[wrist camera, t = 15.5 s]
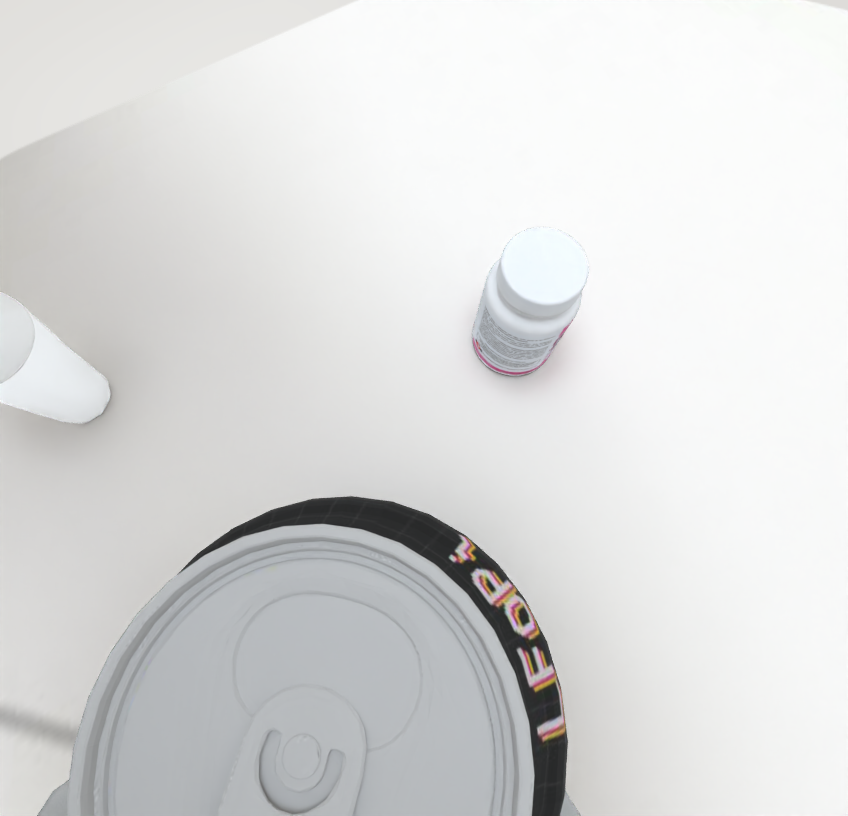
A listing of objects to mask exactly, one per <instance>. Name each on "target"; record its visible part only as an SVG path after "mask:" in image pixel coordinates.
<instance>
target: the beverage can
mask: <svg viewBox="0 0 848 816" xmlns="http://www.w3.org/2000/svg"><path fill="white" fill-rule="evenodd" d="M567 744H568V740H567V732H566V724H565V716H564V708H563V700H562V692H561V687H560V684H559V680H558V677H557V674H556V670H555V667H554V664H553V661H552V657H551V654H550V651H549V647H548V644H547V641H546V639H545V637H544V635H543V634H542V632H541V630H540V628H539V626H538V624H537V622H536V620H535V618H534V616H533V614H532V612H531V610H530V608H529V606H528V604H527V602H526V600H525V599H524V598H523V596H522V595H521V594H520V592H519V591H518V590H517V588H516V587H515V586H514V585H513V583H512V582H511V581H510V579H509V578H508V577H507V575H506V574H505V573H504V572H503V570H502V569H501V568H500V566H499V565H498V564H497V563H496V562H495V561H494V560H493V559H491V558H490V557H489V556H488V555H487V554H486V553H485V552H484V551H482V550H481V549H480V548H479V547H478V546H477V545H476V544H475V543H473V542H472V541H471V540H470V539H469V538H468V537H467V536H466V535H464V534H462V533H460V532H459V531H457V530H455V529H454V528H452V527H450V526H448V525H447V524H445V523H443V522H442V521H440V520H438V519H436V518H435V517H433V516H431V515H429V514H426V513H424V512H421V511H418V510H415V509H412V508H409V507H406V506H403V505H400V504H397V503H395V502H390V501H383V500H375V499H368V498H360V497H353V496H351V497H335V498H319V499H311V500H307V501H303V502H299V503H295V504H292V505H288V506H284V507H280V508H277V509H273V510H270V511H268V512H266V513H264V514H262V515H260V516H258V517H256V518H254V519H252V520H250V521H248V522H245V523H243V524H241V525H239V526H237V527H235V528H233V529H231V530H230V531H229V532H227V533H226V534H224V535H223V536H222V537H220V538H219V539H218V540H216V541H215V542H213V543H212V544H211V545H209V546H208V547H206V548H205V549H204V550H202V551H201V552H200V553H198V554H197V555H196V556H195V557H194V558H193V559H192V560H191V561H190V562H189V563H188V564H187V565H186V566H185V567H184V568H183V569H182V570H181V571H180V572H179V573H178V574H177V576H175V577H174V578H172V579H171V580H170V581H169V582H168V583H167V584H166V585H165V586H164V587H163V588H162V589H161V590H160V591H159V592H158V593H157V594H156V595H155V596H154V597H153V598H152V599H151V600H150V601H149V602H148V603H147V604H146V605H145V606H144V607H143V608H142V609H141V610H140V611H139V612H138V613H137V615H136V616H135V618H134V619H133V620H132V622H131V623H130V625H129V626H128V628H127V629H126V631H125V632H124V633H123V635H122V636H121V638H120V639H119V641H118V642H117V644H116V645H115V646H114V648H113V649H112V651H111V652H110V654H109V656H108V659H107V661H106V663H105V665H104V667H103V669H102V671H101V673H100V675H99V677H98V679H97V681H96V683H95V685H94V687H93V689H92V691H91V693H90V695H89V697H88V701H87V704H86V707H85V711H84V714H83V717H82V721H81V724H80V727H79V731H78V734H77V737H76V741H75V744H74V749H73V756H72V764H71V771H70V779H69V786H68V794H67V813H68V816H560V813H561V809H562V805H563V801H564V796H565V780H566V762H567Z"/></svg>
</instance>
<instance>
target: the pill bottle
mask: <svg viewBox="0 0 848 816" xmlns="http://www.w3.org/2000/svg"><path fill="white" fill-rule="evenodd" d="M588 273H589V266H588V260H587V256H586V254H585V252H584V250H583V249H582V247H581V246H580V245H579V243H578V242H577V241H576V240H575V239H574V238H572V237H571V236H570V235H568V234H566V233H564V232H562V231H560V230H557V229H554V228H548V227H536V228H530V229H527V230H524V231H522V232H520V233H518V234H517V235H515V236H514V237H513V238H512V239H511V240H510V241H509V242H508V244H507V245H506V247H505V248H504V250H503V253H502V256H501V258H500V259H499V260H498V261H497V262H496V263H495V264H494V265H493V267H492V268H491V270H490V272H489V274H488V276H487V279H486V282H485V286H484V290H483V293H482V297H481V301H480V305H479V308H478V312H477V316H476V319H475V322H474V326H473V334H472V339H473V345H474V348H475V351H476V353H477V355H478V357H479V358H480V359H481V361H482V362H483V363H484V364H485V365H486V366H487V367H489V368H490V369H492V370H494V371H496V372H498V373H501V374H505V375H510V376H520V375H525V374H528V373H531V372H533V371H535V370H536V369H538V368H539V367H540V366H542V365H543V364H544V362H545V361H546V360H547V359H548V357H549V356H550V354H551V352H552V351H553V349H554V348H555V346H556V345H557V343H558V342H559V340H560V338H561V337H562V336H563V334H564V333H565V331H566V329H567V328H568V326H569V325H570V324H571V322H572V321H573V319H574V317H575V316H576V314H577V312H578V309H579V307H580V303H581V297H582V290H583V288H584V286H585V284H586V282H587V278H588Z"/></svg>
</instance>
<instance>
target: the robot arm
mask: <svg viewBox="0 0 848 816" xmlns="http://www.w3.org/2000/svg"><path fill="white" fill-rule="evenodd" d="M68 786H69V780H68V781H67V782H65V783H64V784H62V785H61V786H60V787H58V788H57V789H55V790H54V791H53V792H52V794H51V795H50V797H49V798H48V800H47V801H46V803H45V805H44V806H43V808H42V809H41V811H40V812H39V814H38V815H37V816H68V813H67V794H68ZM560 816H581V815H580V814H579V812H578V810H577V809H576V807H575V806H574V804H573V802H572V801H571V799H570V798H569V796H568V794H567V793H566V791H565V796H564V801H563V805H562V809H561V813H560Z"/></svg>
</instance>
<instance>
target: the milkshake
mask: <svg viewBox="0 0 848 816" xmlns="http://www.w3.org/2000/svg"><path fill="white" fill-rule="evenodd" d="M110 398H111V394H110V388H109V383H108V380H107V379H106V378H105V377H104V376H103V375H102V374H100V373H99V372H98V371H97V370H96V369H94V368H93V367H92V366H91V365H89V364H88V363H87V362H86V361H85V360H83V359H82V358H81V357H80V356H79V355H77V354H76V353H75V352H74V351H73V350H71V349H70V348H69V347H68V346H67V345H65V344H64V343H63V342H62V341H61V340H60V339H59V338H58V337H57V336H56V335H55V334H54V333H53V332H52V331H50V330H49V329H48V328H47V327H46V326H45V325H44V324H43V323H42V322H41V321H40V320H38V319H37V318H36V317H35V316H34V315H33V314H32V313H31V312H30V311H29V310H27V309H26V308H25V307H24V306H23V305H22V304H21V303H20V302H18V301H17V300H15V299H14V298H12V297H11V296H9V295H7V294H4V293H2V292H0V403H3V404H6V405H9V406H12V407H16V408H19V409H22V410H25V411H29V412H32V413H35V414H38V415H42V416H45V417H48V418H51V419H55V420H58V421H61V422H64V423H87V422H89V421H90V420H92V419H94V418H95V417H97V416H98V415H100V414H102V413H103V411H104V409H105V407H106V405H107V403H108V401H109V400H110Z"/></svg>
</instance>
